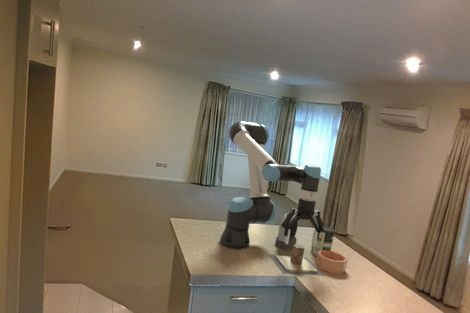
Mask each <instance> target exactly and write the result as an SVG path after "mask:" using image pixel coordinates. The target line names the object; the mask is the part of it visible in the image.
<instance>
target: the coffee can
mask: <svg viewBox="0 0 470 313" xmlns="http://www.w3.org/2000/svg"><path fill="white" fill-rule="evenodd" d="M317 226H318V224H317ZM318 228H319V226H318ZM323 228H324V231H321V233H319V238H318V239H317V240H316V246H313V245H312V244H311V247H310V253H311V254H312V255H314V256H316V257H317V254H318V252H319V251H321V250H327V251H332V248H333V247H332V246H333V241H334V236H335V232H336V230H335V229H334V228H333V227H331V226H328V225H327V226H326V225H323ZM314 231H316V230H315V229H314V230H313V232H314Z"/></svg>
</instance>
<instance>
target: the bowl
mask: <svg viewBox="0 0 470 313" xmlns="http://www.w3.org/2000/svg"><path fill="white" fill-rule="evenodd" d="M315 260H316V261H315V266H316V267H318V269H319V270H322V271H325V272H329V273H331V274H343V273H344V272H346V269H347V264H348V258H347V257H346V256H345V255H344V254H342V253H339V252H336V251H334V250H331V251H327V250H321V251H319V252H318V254H317V256H316V259H315Z"/></svg>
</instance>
